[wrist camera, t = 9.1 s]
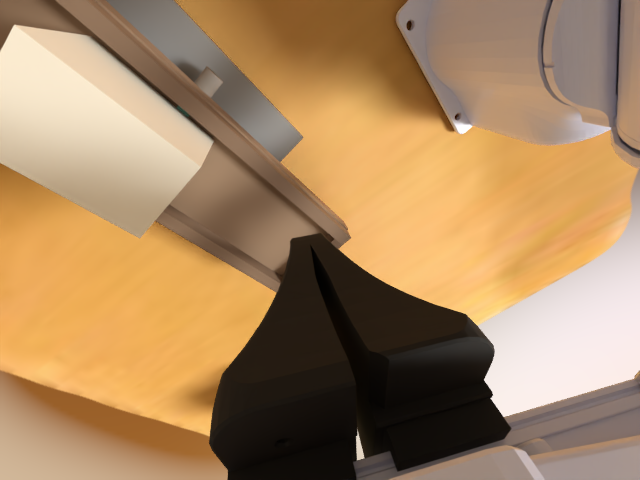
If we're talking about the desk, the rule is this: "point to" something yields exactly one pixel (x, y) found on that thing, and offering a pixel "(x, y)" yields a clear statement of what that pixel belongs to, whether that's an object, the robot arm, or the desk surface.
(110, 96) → the block
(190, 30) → the balance beam
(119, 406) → the desk surface
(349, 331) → the robot arm
